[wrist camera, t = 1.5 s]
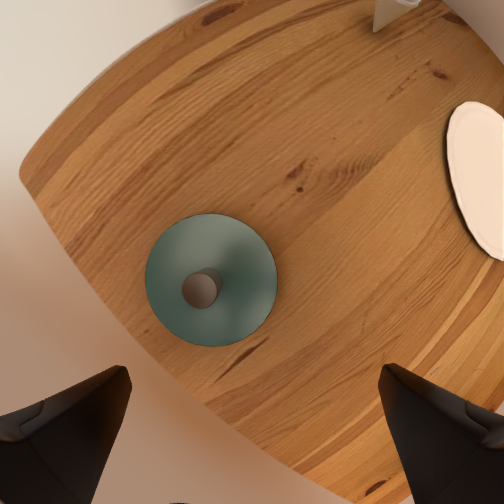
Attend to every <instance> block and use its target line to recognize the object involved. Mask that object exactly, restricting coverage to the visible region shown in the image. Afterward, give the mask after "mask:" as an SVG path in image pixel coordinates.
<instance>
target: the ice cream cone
mask: <svg viewBox="0 0 504 504" xmlns="http://www.w3.org/2000/svg"><path fill="white" fill-rule="evenodd" d="M420 1H421V0H376V6H375V15H374V24H373V32H375V33H376V32H378V31H379V30H380V29H382V28H383V27H385V26H386V25H388V24H389V23H391V22H392V21H394V20H395V19H397V18H398V17H400V16H401V15H403V14H404V13H406V12H407V11H409V10H411V9H412V8H414V7H417V6H419V2H420Z"/></svg>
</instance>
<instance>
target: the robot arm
mask: <svg viewBox="0 0 504 504" xmlns="http://www.w3.org/2000/svg"><path fill="white" fill-rule="evenodd" d="M378 389H379V393H380V397H381V401H382V405H383V409H384V413H385V417H386V420H387V424H388V427H389V429H390V432H391V435H392V437H393V440H394V443H395V446H396V448H397V451H398V454H399V457H400V460H401V463H402V465H403V468H404V471H405V474H406V477H407V480H408V483H409V487H410V490H411V493H412V495H413V499H414V502H415V504H504V416H502V415H499V414H497V413H494V412H491V411H489V410H486V409H484V408H482V407H479V406H477V405H475V404H473V403H471V402H469V401H467V400H466V401H465V399H463V398H461V397H459V396H457V395H455V394H453V393H451V392H449V391H447V390H445V389H443V388H441V387H439V386H437V385H435V384H433V383H431V382H430V381H428V380H426V379H424V378H422V377H420V376H418V375H416V374H414V373H412V372H410V371H408V370H407V369H405V368H403V367H401V366H399V365H397V364H395V363H390V364H385V365H383V367H382V370H381V374H380V378H379V382H378ZM131 390H132V383H131V380H130V377H129V374H128V370H127V369H126V367H124V366H119V365H115V366H113V367H111V368H109V369H107V370H105V371H103V372H101V373H99V374H97V375H94V376H93V377H90V378H89V379H87V380H84V381H82V382H80V383H78V384H76V385H74V386H72V387H70V388H68V389H66V390H63V391H61V392H59V393H57V394H55V395H53V396H51V397H48V398H46V399H45V400H42V401H40V402H37V403H35V404H33V405H30V406H28V407H26V408H23V409H20V410H17V411H15V412H12V413H9V414H6V415H3V416H0V504H91V502H92V499H93V497H94V494H95V491H96V488H97V486H98V482H99V480H100V477H101V475H102V472H103V469H104V467H105V464H106V462H107V459H108V457H109V454H110V451H111V449H112V446H113V444H114V441H115V439H116V437H117V434H118V432H119V429H120V427H121V424H122V422H123V418H124V415H125V411H126V408H127V404H128V401H129V398H130V394H131Z"/></svg>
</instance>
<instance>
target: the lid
mask: <svg viewBox="0 0 504 504" xmlns="http://www.w3.org/2000/svg"><path fill="white" fill-rule="evenodd" d="M145 285H146V292H147V296H148V300H149V302H150V305H151V307H152V309H153V311H154V313H155V315H156V316H157V318H158V319H159V320H160V322H161V323H162V324H163V325H164V326H165V327H166V328H167V329H168V330H169V331H171V332H172V333H173V334H174V335H176V336H178V337H179V338H181V339H183V340H185V341H187V342H190V343H193V344H196V345H201V346H210V347H216V346H225V345H229V344H233V343H235V342H238V341H240V340H242V339H244V338H246V337H248V336H249V335H251V334H252V333H253V332H255V331H256V330H257V329H258V328H259V327H260V326H261V325H262V323H263V322H264V321H265V320H266V318H267V317H268V315H269V314H270V312H271V309H272V307H273V305H274V302H275V299H276V294H277V288H278V276H277V269H276V264H275V261H274V258H273V255H272V253H271V251H270V249H269V247H268V245H267V244H266V243H265V241H264V240H263V239H262V237H261V236H260V235H259V234H258V233H257V232H256V231H255V230H253V229H252V228H251V227H250V226H248V225H247V224H245V223H244V222H242V221H240V220H238V219H235V218H233V217H230V216H226V215H221V214H209V213H206V214H198V215H194V216H190V217H187V218H185V219H183V220H181V221H179V222H177V223H175V224H174V225H172V226H171V227H170V228H168V229H167V230H166V231H165V232H164V233H163V234H162V235H161V236H160V238H159V239H158V240H157V242H156V243H155V245H154V247H153V248H152V250H151V253H150V255H149V258H148V261H147V265H146V272H145Z"/></svg>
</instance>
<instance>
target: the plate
mask: <svg viewBox="0 0 504 504" xmlns="http://www.w3.org/2000/svg"><path fill="white" fill-rule="evenodd" d="M446 144H447V162H448V167H449V173H450V180H451V184H452V187H453V190H454V194H455V197H456V201H457V204H458V207H459V209H460V211H461V214H462V216H463V218H464V220H465V223H466V225H467V228H468V229H469V231H470V232H471V234H472V235H473V237H474V238H475V240H476V242H477V243H478V245H479V246H480V247H481V248H482V249H483V250H484V251H485V252H486V253H488V254H489V255H490V256H491V257H494V258H496V259H498V260H501V261H504V119H503V118H502V116H501V115H499V114H498V113H497V112H495V111H494V110H493V109H492V108H490V107H488V106H486V105H484V104H481V103H479V102H465V103H463V104H462V105H460V106H458V107H457V108H456V109H455V111H454V113H453V114H452V116H451V117H450V120H449V125H448V130H447V134H446Z"/></svg>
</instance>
